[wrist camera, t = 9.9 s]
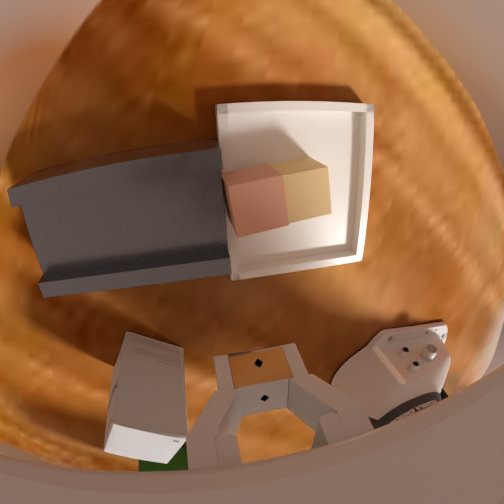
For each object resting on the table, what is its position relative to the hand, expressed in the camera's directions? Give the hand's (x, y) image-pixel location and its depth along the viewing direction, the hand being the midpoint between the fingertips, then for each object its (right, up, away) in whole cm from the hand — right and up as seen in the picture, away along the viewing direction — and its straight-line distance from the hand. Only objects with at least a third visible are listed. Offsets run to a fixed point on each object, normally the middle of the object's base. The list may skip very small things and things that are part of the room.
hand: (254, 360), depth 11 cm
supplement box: (-13, -9, +24) cm, 29 cm away
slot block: (-11, +8, +15) cm, 21 cm away
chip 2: (0, +9, +15) cm, 17 cm away
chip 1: (+2, +9, +14) cm, 17 cm away
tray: (+4, +10, +17) cm, 21 cm away
